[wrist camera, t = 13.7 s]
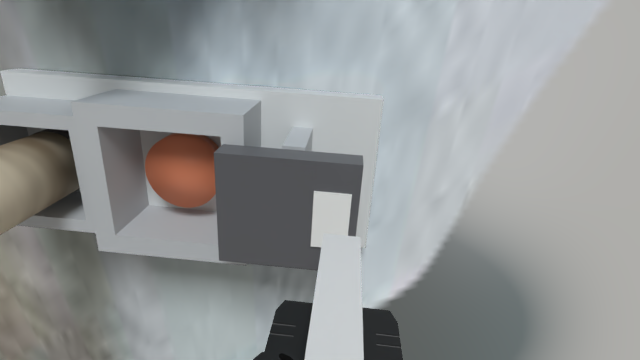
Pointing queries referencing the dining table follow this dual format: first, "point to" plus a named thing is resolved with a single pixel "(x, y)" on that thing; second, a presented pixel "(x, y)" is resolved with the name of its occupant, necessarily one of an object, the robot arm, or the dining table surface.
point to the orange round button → (182, 169)
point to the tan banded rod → (35, 175)
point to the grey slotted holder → (155, 124)
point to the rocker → (283, 203)
